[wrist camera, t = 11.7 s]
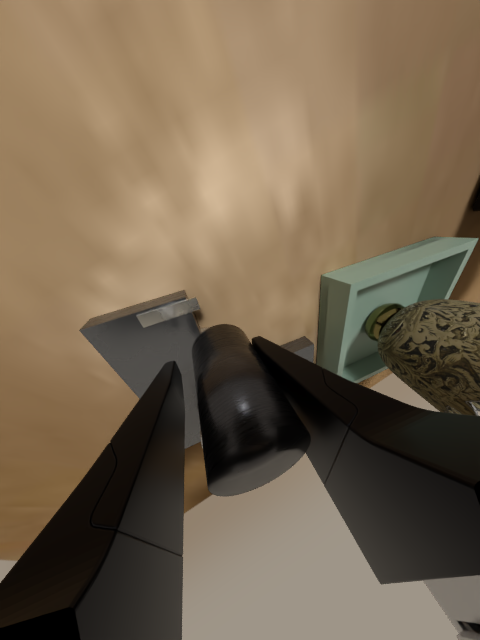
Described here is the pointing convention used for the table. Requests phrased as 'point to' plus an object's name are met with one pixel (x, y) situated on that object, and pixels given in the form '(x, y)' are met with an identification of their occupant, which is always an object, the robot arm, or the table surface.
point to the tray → (381, 299)
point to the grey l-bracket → (159, 346)
